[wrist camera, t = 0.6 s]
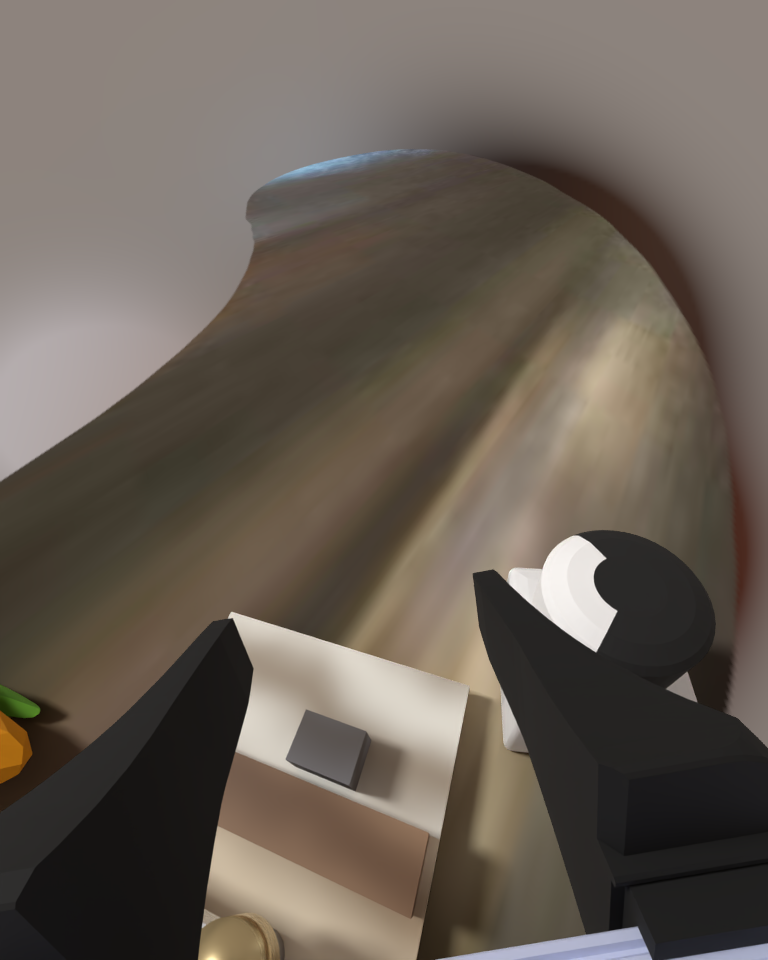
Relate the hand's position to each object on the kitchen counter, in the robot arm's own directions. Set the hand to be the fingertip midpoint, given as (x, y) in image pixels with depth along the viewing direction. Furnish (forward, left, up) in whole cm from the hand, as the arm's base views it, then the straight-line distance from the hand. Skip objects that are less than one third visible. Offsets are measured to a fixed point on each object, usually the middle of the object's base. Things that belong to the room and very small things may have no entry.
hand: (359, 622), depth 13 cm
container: (+6, -9, -18) cm, 21 cm away
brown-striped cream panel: (-5, +5, -17) cm, 19 cm away
